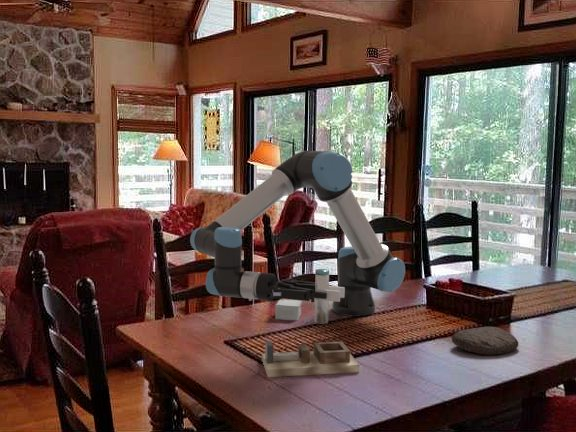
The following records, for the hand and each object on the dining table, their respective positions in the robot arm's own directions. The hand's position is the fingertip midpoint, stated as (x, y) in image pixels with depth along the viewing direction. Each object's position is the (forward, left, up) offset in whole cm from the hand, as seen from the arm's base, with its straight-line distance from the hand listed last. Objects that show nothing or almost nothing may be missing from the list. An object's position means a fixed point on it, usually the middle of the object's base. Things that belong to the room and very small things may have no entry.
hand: (341, 294), depth 159 cm
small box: (+5, -48, -20) cm, 53 cm away
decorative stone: (-46, -9, -20) cm, 51 cm away
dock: (+8, -2, -20) cm, 21 cm away
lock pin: (+15, -2, -18) cm, 23 cm away
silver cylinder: (+5, -3, -8) cm, 10 cm away
